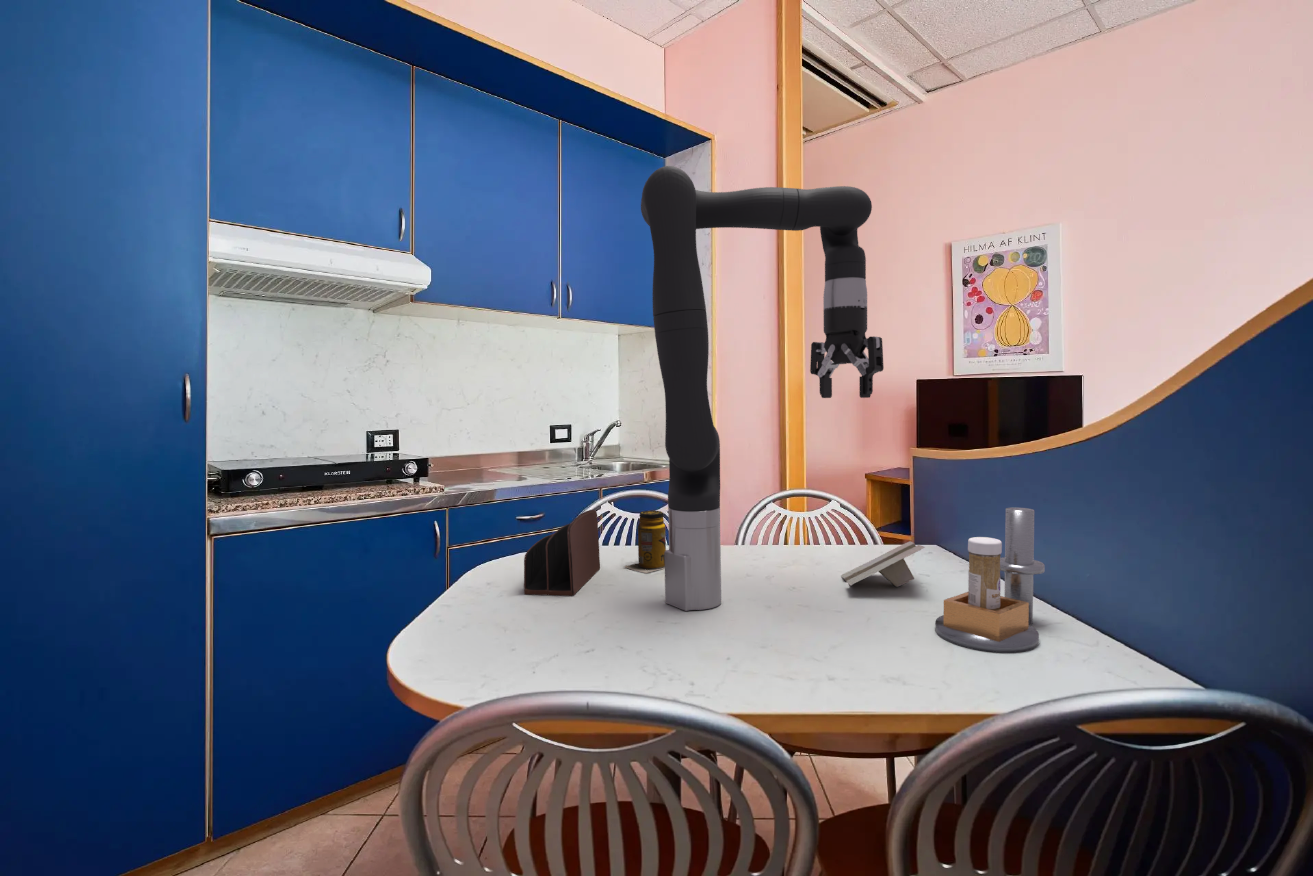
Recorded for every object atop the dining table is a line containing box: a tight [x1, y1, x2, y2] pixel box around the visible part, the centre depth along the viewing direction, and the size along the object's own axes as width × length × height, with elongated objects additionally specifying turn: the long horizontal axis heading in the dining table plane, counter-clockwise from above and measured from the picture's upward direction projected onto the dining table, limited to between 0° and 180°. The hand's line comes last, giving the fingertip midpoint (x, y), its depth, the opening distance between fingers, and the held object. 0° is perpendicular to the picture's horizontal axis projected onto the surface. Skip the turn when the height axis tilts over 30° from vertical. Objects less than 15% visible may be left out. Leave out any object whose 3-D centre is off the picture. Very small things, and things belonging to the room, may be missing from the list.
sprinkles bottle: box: [967, 536, 1003, 611], centre depth 100 cm, size 5×5×13 cm
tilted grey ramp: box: [840, 540, 926, 588], centre depth 127 cm, size 16×9×15 cm
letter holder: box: [523, 509, 601, 597], centre depth 135 cm, size 10×20×14 cm, turn 170°
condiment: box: [623, 510, 667, 574], centre depth 145 cm, size 7×8×12 cm
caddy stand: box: [934, 507, 1046, 654], centre depth 102 cm, size 20×14×18 cm
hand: (845, 397), depth 120 cm, fingers open, 8 cm apart
